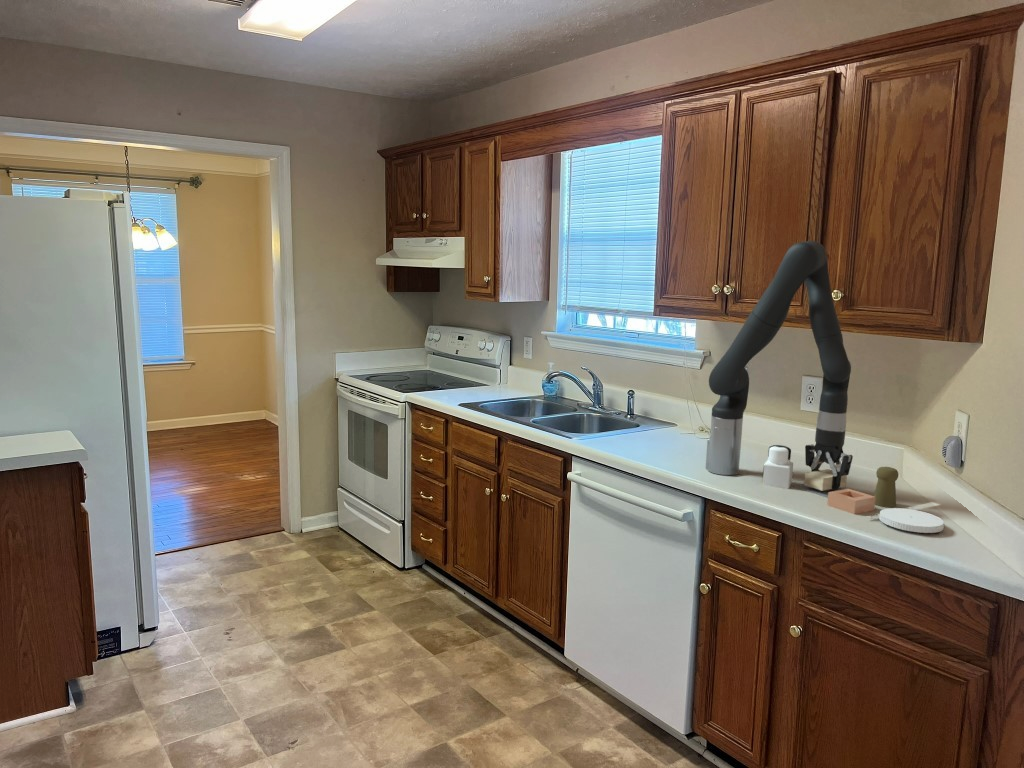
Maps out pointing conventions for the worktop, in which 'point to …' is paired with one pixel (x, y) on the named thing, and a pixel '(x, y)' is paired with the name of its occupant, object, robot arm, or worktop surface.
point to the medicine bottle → (778, 467)
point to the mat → (816, 491)
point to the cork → (886, 487)
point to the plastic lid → (911, 520)
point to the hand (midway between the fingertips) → (824, 485)
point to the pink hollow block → (851, 501)
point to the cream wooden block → (822, 479)
